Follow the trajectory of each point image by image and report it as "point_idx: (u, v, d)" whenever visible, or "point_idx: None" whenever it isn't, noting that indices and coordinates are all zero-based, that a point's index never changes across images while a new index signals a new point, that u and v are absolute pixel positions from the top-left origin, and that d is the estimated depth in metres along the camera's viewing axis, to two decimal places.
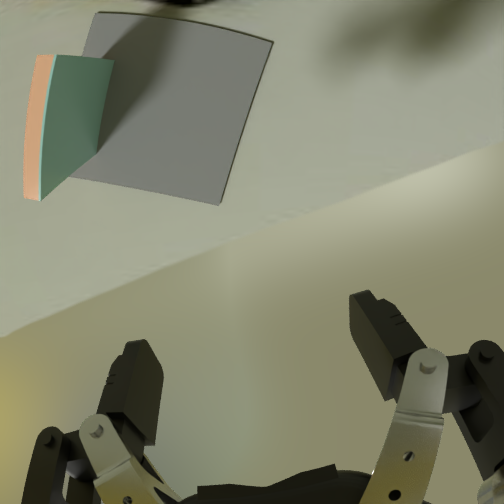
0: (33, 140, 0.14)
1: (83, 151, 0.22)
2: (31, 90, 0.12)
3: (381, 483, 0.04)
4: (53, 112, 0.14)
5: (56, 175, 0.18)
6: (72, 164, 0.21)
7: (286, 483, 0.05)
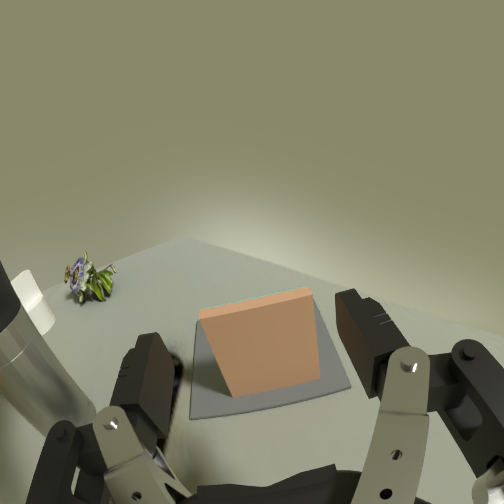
0: (262, 300, 0.26)
1: None
2: (225, 313, 0.25)
3: (371, 483, 0.04)
4: None
5: None
6: None
7: (286, 484, 0.05)
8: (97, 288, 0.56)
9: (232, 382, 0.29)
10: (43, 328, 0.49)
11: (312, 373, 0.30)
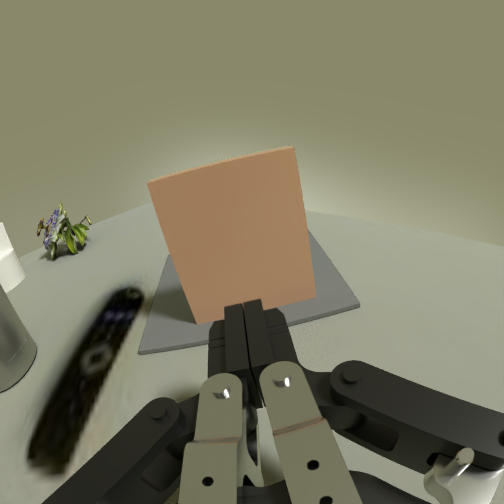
0: (229, 159, 0.19)
1: None
2: (180, 173, 0.19)
3: (304, 499, 0.04)
4: None
5: None
6: None
7: (286, 484, 0.05)
8: (70, 240, 0.50)
9: (194, 296, 0.23)
10: (10, 283, 0.42)
11: (305, 286, 0.23)
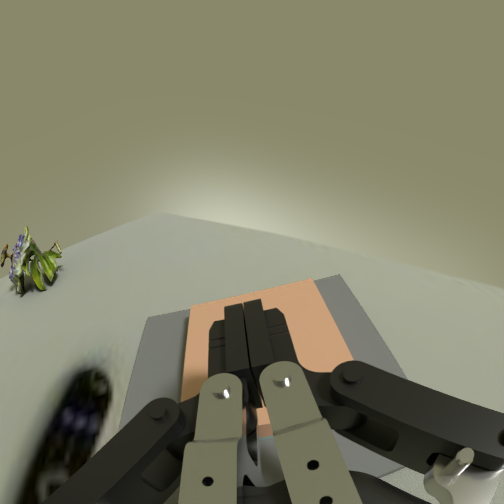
0: None
1: None
2: (219, 301, 0.24)
3: (304, 498, 0.04)
4: None
5: None
6: None
7: (286, 484, 0.05)
8: (37, 273, 0.38)
9: (191, 396, 0.15)
10: None
11: None
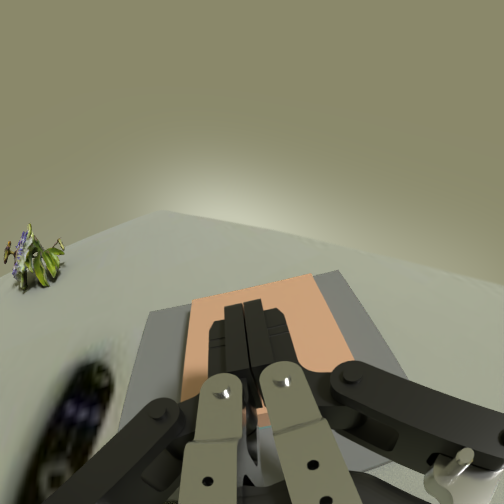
0: None
1: None
2: (220, 295, 0.24)
3: (304, 498, 0.04)
4: None
5: None
6: None
7: (286, 484, 0.05)
8: (40, 270, 0.38)
9: (192, 386, 0.16)
10: None
11: None
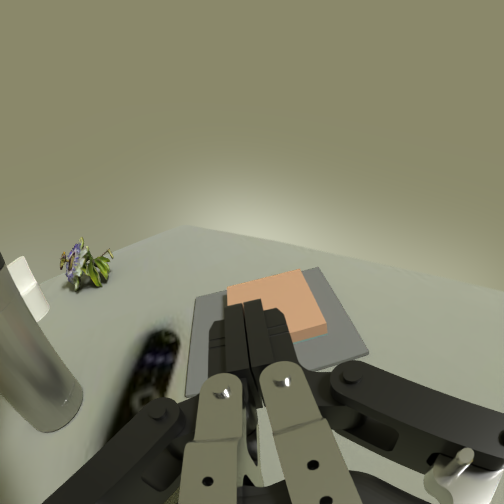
0: None
1: None
2: (244, 283, 0.40)
3: (305, 498, 0.04)
4: None
5: None
6: None
7: (286, 483, 0.05)
8: (93, 274, 0.54)
9: None
10: (36, 316, 0.46)
11: (315, 317, 0.30)
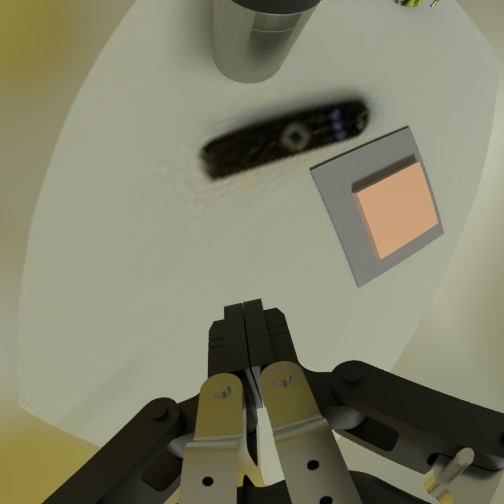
0: None
1: None
2: (424, 176, 0.37)
3: (304, 499, 0.04)
4: None
5: None
6: None
7: (286, 483, 0.05)
8: None
9: (373, 189, 0.37)
10: None
11: (386, 250, 0.39)
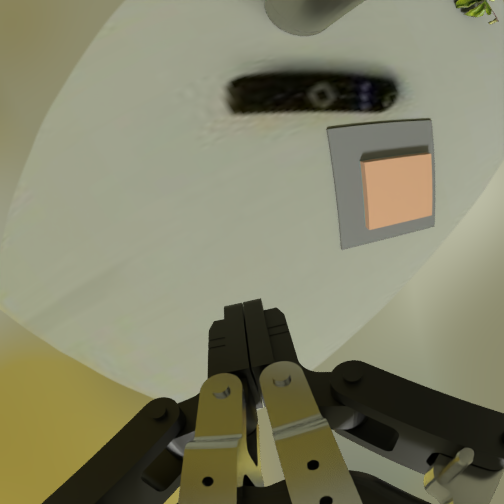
0: None
1: None
2: (431, 168, 0.38)
3: (305, 498, 0.04)
4: None
5: None
6: None
7: (286, 483, 0.05)
8: (467, 0, 0.24)
9: (381, 164, 0.37)
10: None
11: (377, 223, 0.41)
